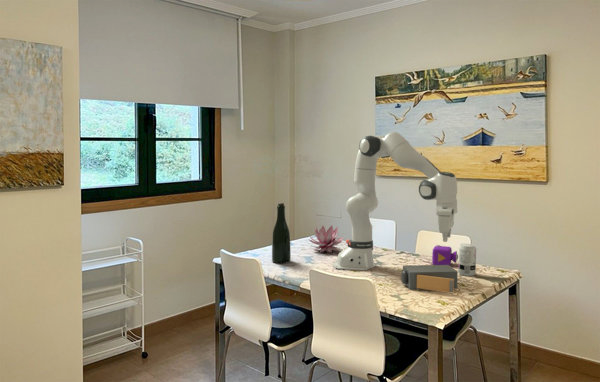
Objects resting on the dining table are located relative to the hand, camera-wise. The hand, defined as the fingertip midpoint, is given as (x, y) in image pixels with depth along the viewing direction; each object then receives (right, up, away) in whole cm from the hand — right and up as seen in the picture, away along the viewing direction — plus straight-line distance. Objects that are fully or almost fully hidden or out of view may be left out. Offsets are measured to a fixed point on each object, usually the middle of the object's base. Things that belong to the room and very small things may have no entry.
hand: (446, 239), depth 218 cm
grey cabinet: (-5, -23, +10) cm, 25 cm away
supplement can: (+19, -21, +29) cm, 40 cm away
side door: (-6, -23, -1) cm, 23 cm away
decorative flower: (-50, -16, +80) cm, 96 cm away
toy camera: (+13, -19, +48) cm, 54 cm away
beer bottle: (-76, -18, +56) cm, 96 cm away
